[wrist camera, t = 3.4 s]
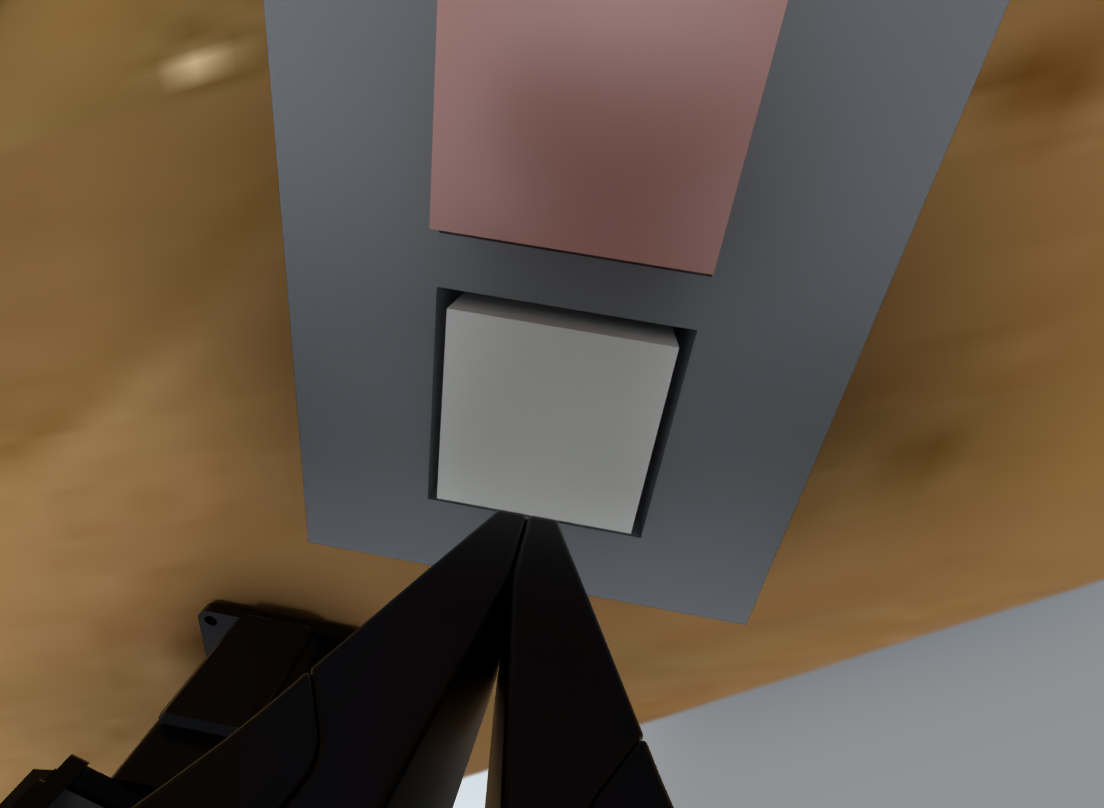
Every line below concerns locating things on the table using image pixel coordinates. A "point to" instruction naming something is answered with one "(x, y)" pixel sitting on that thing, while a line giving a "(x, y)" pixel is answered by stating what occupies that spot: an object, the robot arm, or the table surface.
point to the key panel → (606, 284)
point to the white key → (550, 409)
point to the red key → (598, 122)
